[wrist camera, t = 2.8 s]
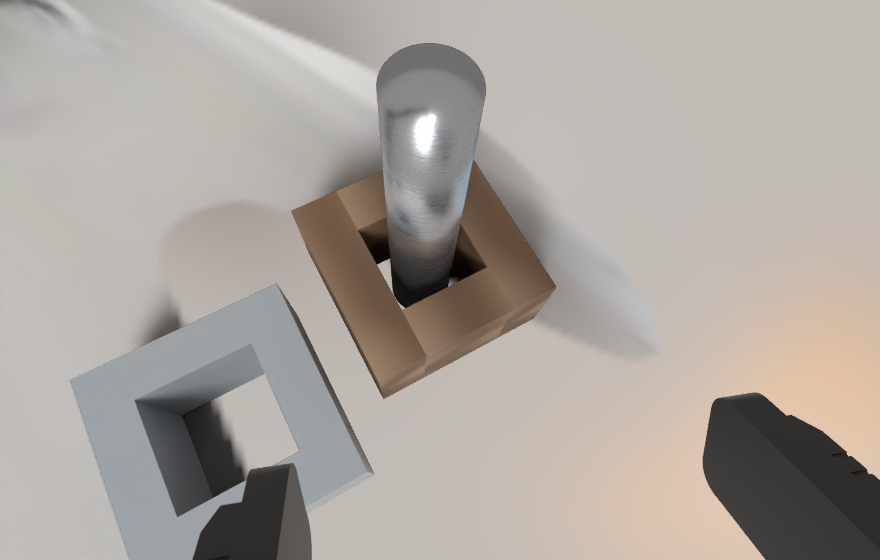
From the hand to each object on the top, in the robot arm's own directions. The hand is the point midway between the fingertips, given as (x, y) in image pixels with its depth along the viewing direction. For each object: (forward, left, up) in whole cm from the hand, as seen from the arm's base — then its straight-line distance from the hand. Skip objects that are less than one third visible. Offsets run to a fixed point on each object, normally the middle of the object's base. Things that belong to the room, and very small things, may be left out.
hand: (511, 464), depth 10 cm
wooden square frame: (+3, +9, -17) cm, 20 cm away
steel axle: (+3, +9, -17) cm, 20 cm away
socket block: (-8, +6, -17) cm, 20 cm away
